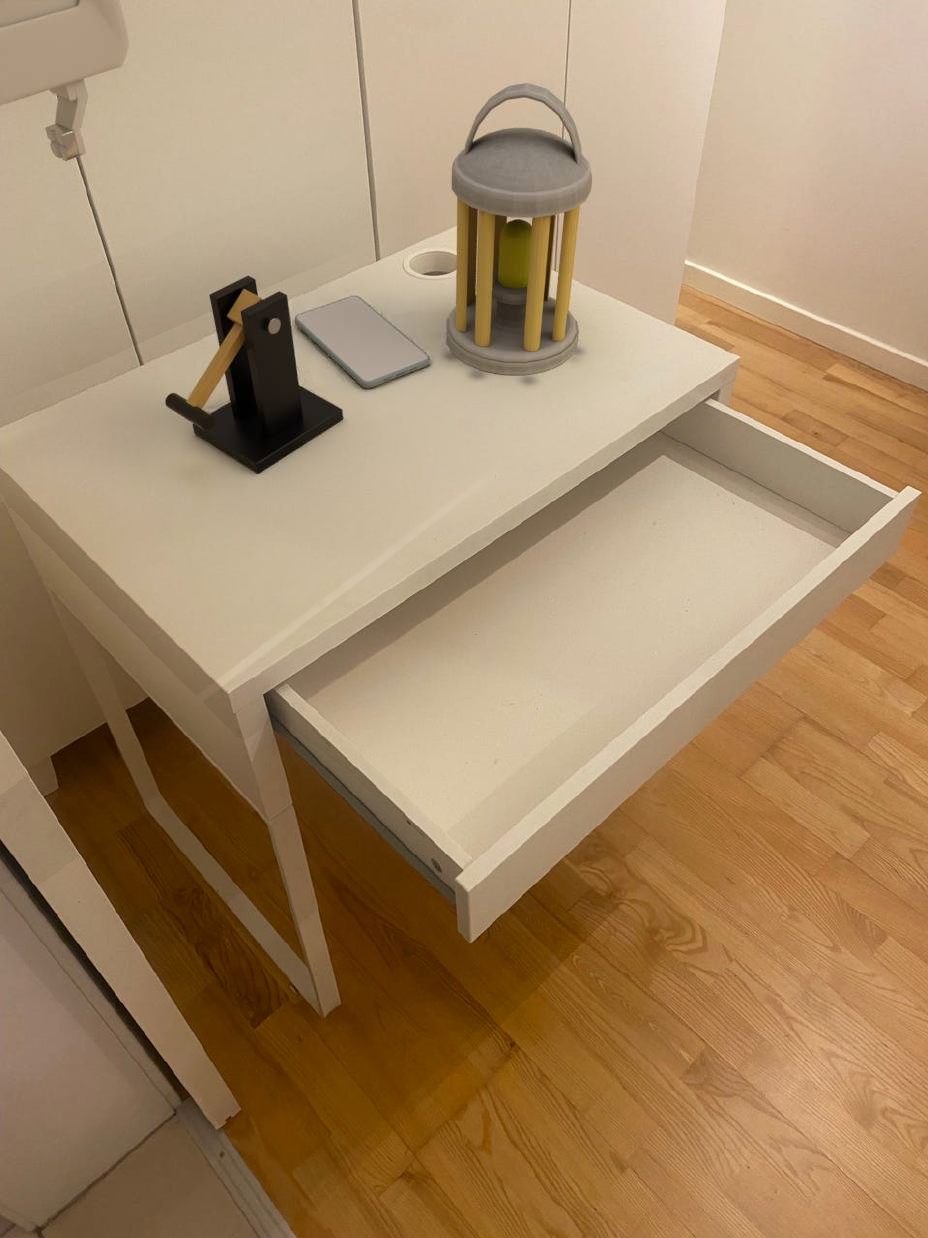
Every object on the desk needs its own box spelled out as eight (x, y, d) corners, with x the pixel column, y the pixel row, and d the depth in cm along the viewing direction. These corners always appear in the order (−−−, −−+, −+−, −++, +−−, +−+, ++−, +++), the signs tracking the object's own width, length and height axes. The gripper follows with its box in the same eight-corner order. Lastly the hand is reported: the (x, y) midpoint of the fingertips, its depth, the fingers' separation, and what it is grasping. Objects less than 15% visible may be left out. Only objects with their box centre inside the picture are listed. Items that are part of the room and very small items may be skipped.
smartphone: (365, 384, 95) (290, 315, 103) (365, 392, 96) (291, 323, 104) (434, 357, 99) (357, 292, 106) (434, 366, 99) (357, 300, 107)
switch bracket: (258, 474, 87) (233, 340, 77) (194, 433, 91) (162, 301, 81) (343, 419, 93) (331, 287, 83) (280, 383, 97) (261, 253, 86)
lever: (212, 435, 83) (195, 424, 81) (176, 412, 85) (158, 401, 83) (286, 317, 83) (271, 302, 81) (248, 296, 85) (232, 282, 83)
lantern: (435, 367, 99) (433, 110, 80) (457, 296, 108) (460, 52, 90) (572, 381, 98) (602, 123, 79) (582, 309, 107) (611, 63, 88)
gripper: (-256, -29, 44) (-124, 254, 55) (112, -106, 55) (164, 144, 65) (-314, -55, 47) (-177, 220, 57) (47, -124, 58) (108, 119, 68)
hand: (7, 178), depth 61 cm, fingers open, 8 cm apart
